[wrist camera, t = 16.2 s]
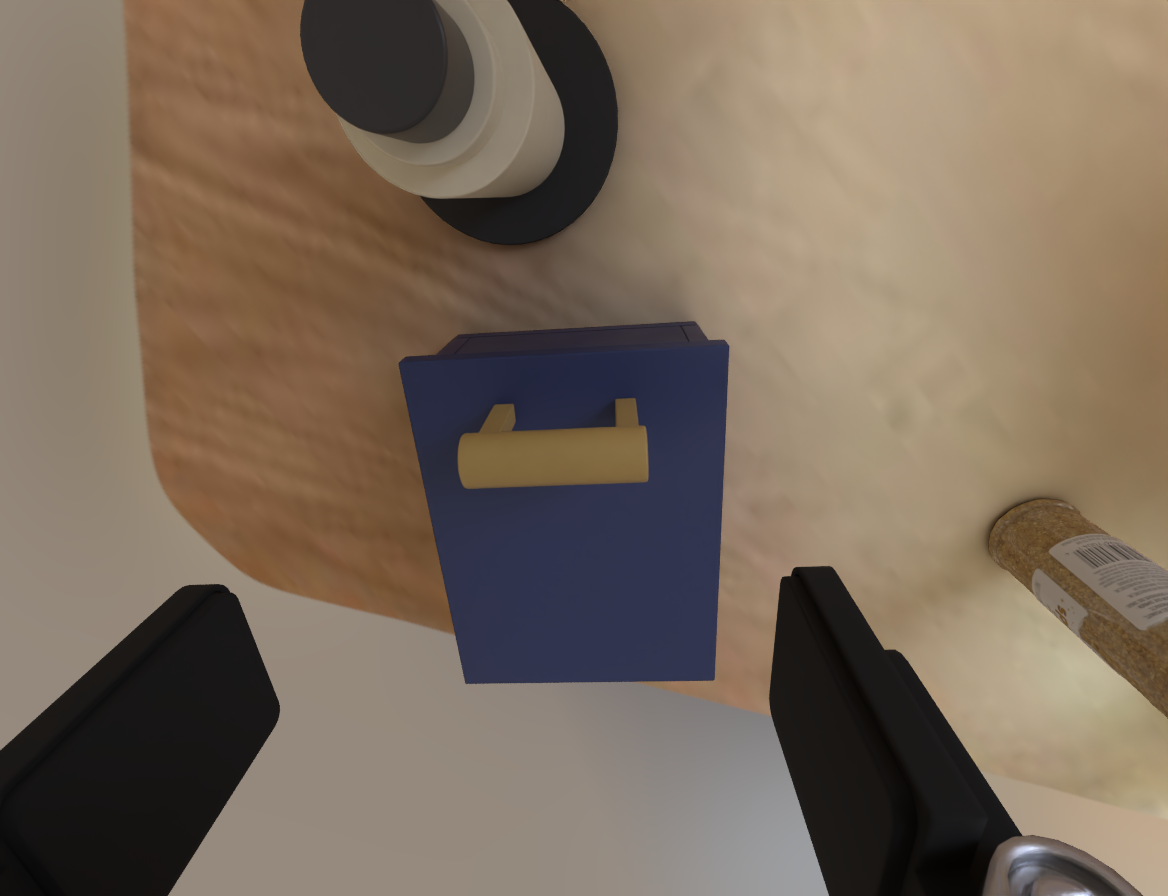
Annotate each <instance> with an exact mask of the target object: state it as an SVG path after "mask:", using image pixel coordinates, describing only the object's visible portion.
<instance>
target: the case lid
mask: <svg viewBox="0 0 1168 896" xmlns="http://www.w3.org/2000/svg"><path fill="white" fill-rule="evenodd" d="M728 363H729V345H728V344H727V342H726V341H725V340H708V341H689V342H670V343H652V344H633V345H614V346H596V347H577V348H559V349H540V350H521V351H503V352H484V353H465V354H447V355H428V356H409V357H405V358H404V359H402V360H401V361H400V362H399V363H398V364H399V369H400V374H401V379H402V383H403V388H404V393H405V398H406V402H407V407H408V412H409V417H410V422H411V426H412V431H413V436H414V441H415V445H416V450H417V455H418V460H419V464H420V469H421V474H422V479H423V483H424V488H425V493H426V498H427V503H428V507H429V512H430V517H431V522H432V526H433V531H434V536H435V541H436V545H437V550H438V555H439V560H440V564H441V569H442V574H443V579H444V584H445V588H446V593H447V598H448V603H449V607H450V612H451V617H452V622H453V626H454V631H455V636H456V640H457V645H458V650H459V655H460V660H461V665H462V669H463V674H464V678H465V683H466V684H477V683H478V684H481V683H482V684H484V683H552V682H553V683H559V682H637V681H713V680H714V679H715V657H716V635H717V612H718V589H719V567H720V544H721V522H722V499H723V476H724V454H725V431H726V409H727V386H728Z"/></svg>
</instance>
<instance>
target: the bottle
mask: <svg viewBox="0 0 1168 896" xmlns="http://www.w3.org/2000/svg"><path fill="white" fill-rule="evenodd" d="M300 37H301V46H302V51H303V56H304V60H305V63H306V66H307V70H308V72H309V74H310V77H311V79H312V81H313V83H314V85H315V87H316V89H317V90H318V92H319V94H320V95H321V96H322V98H323V99H324V101H325V102H326V103H327V104H328V105H329V106H330V108H331V109H332V110H333V111H334V112H335V113H336V114H337V116H338V119H339V121H340V123H341V126H342V128H343V130H344V132H345V133H346V135H347V137H348V139H349V141H350V142H351V144H352V145H353V146H354V148H355V149H356V151H357V152H358V154H359V155H360V156H361V157H362V158H363V159H364V160H365V162H366V163H367V164H368V165H369V166H370V167H371V168H372V169H373V170H374V171H376V172H377V173H378V174H379V175H380V176H382V177H383V178H384V179H386V180H387V181H389V182H390V183H391V184H393V185H395V186H397V187H399V188H401V189H403V190H405V191H408V192H410V193H413V194H415V195H420V196H424V197H428V198H438V199H448V198H492V197H513V196H519V195H522V194H525V193H527V192H529V191H531V190H533V189H534V188H536V187H537V186H539V185H540V184H541V183H542V182H543V181H544V180H545V179H546V178H547V177H548V176H549V175H550V173H551V172H552V170H553V169H554V167H555V165H556V163H557V161H558V159H559V157H560V154H561V150H562V147H563V141H564V131H565V126H564V115H563V109H562V106H561V102H560V99H559V97H558V94H557V92H556V90H555V88H554V86H553V84H552V82H551V80H550V78H549V77H548V75H547V73H546V71H545V69H544V67H543V65H542V63H541V61H540V59H539V57H538V55H537V54H536V52H535V50H534V48H533V46H532V44H531V42H530V40H529V38H528V36H527V34H526V32H525V31H524V29H523V27H522V25H521V23H520V21H519V19H518V17H517V16H516V14H515V12H514V10H513V8H512V7H511V5H510V4H509V2H508V1H507V0H305V2H304V6H303V10H302V15H301V24H300Z"/></svg>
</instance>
